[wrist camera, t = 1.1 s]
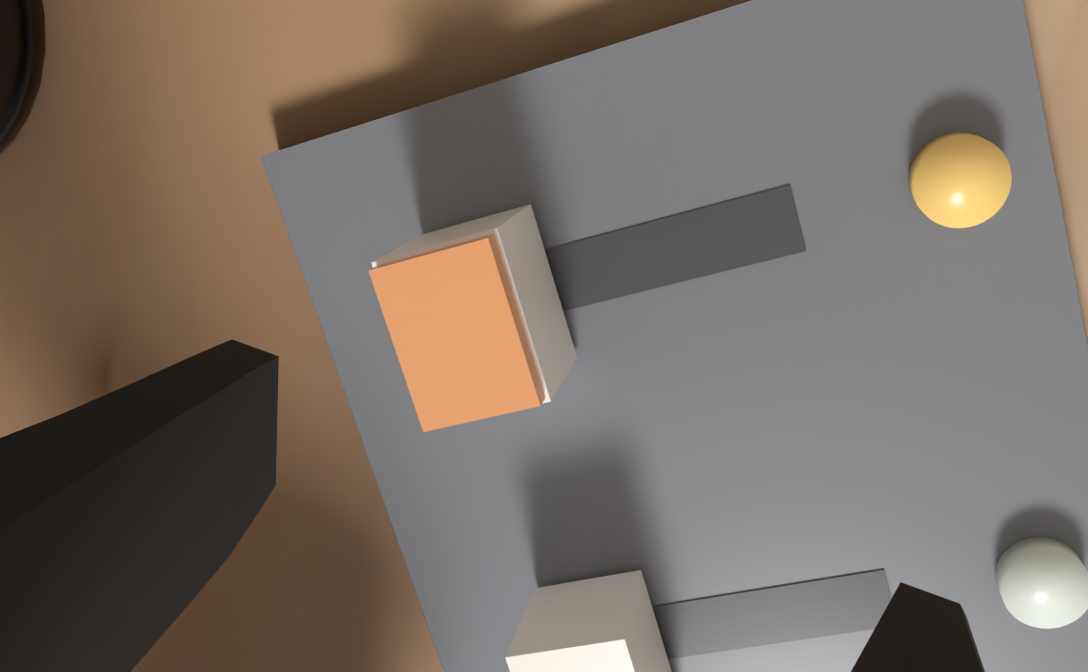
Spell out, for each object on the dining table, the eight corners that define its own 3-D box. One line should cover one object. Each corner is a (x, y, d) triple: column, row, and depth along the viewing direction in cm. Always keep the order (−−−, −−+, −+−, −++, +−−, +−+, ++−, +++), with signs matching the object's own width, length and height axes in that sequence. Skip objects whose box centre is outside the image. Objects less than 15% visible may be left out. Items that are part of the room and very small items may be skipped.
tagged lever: (467, 383, 27) (420, 437, 23) (418, 235, 26) (363, 267, 22) (577, 357, 26) (545, 409, 22) (530, 203, 25) (490, 232, 21)
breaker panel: (502, 789, 31) (486, 831, 30) (278, 151, 27) (245, 159, 25) (1147, 714, 27) (1173, 760, 25) (997, -77, 22) (1016, -86, 21)
